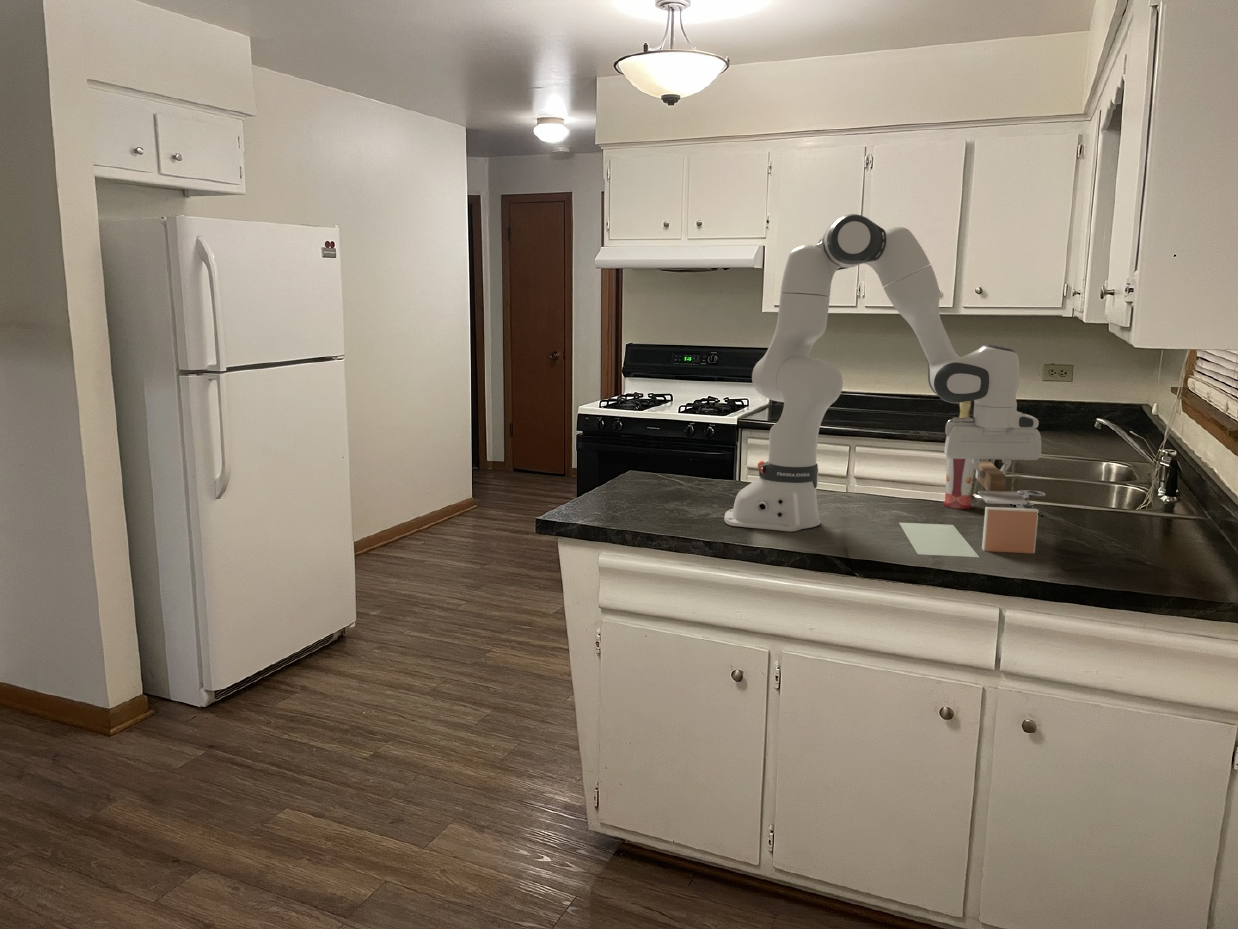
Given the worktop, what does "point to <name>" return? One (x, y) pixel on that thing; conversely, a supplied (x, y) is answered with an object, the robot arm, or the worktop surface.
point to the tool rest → (937, 540)
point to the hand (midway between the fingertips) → (989, 478)
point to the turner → (996, 486)
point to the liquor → (959, 474)
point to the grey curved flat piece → (1026, 496)
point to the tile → (1010, 529)
